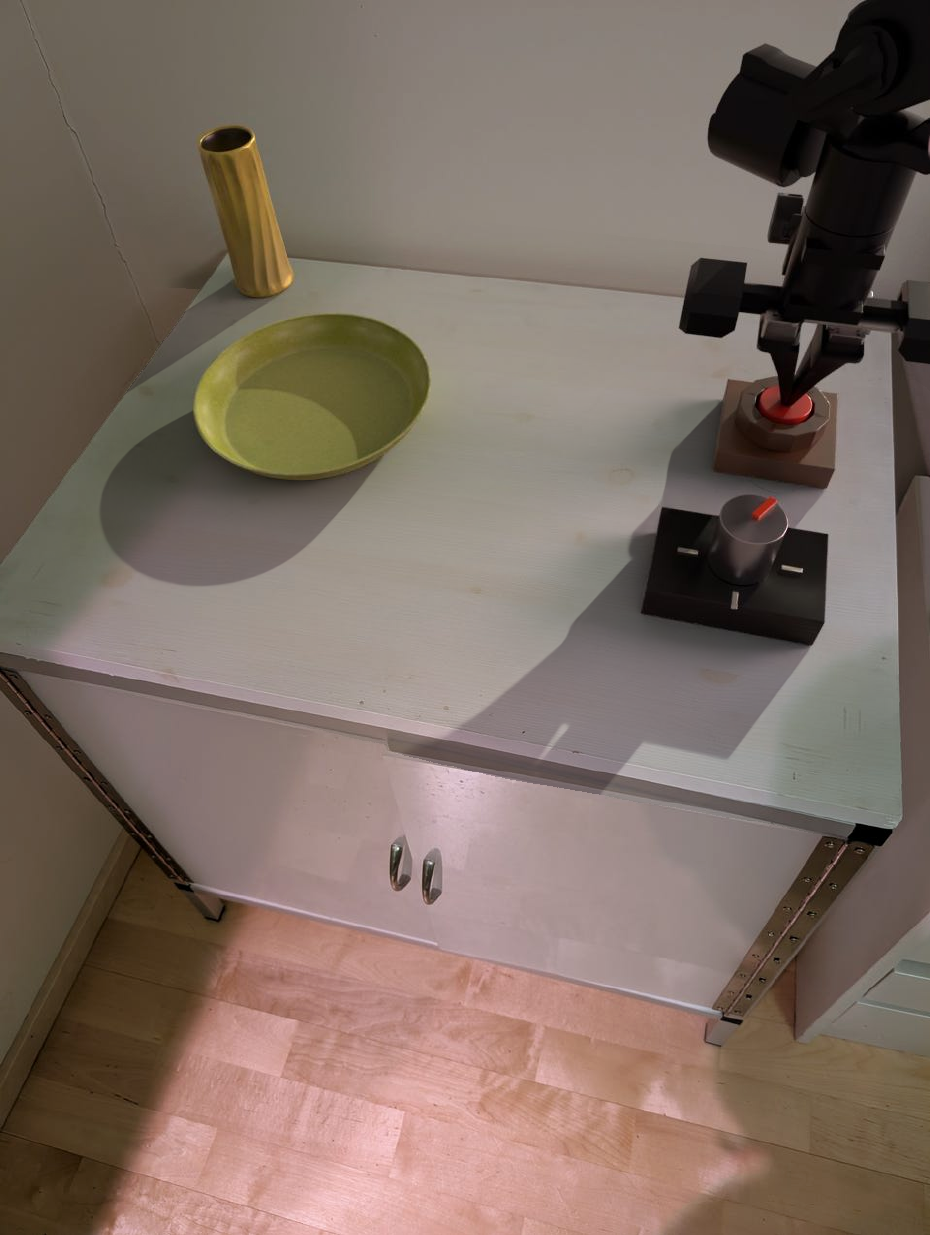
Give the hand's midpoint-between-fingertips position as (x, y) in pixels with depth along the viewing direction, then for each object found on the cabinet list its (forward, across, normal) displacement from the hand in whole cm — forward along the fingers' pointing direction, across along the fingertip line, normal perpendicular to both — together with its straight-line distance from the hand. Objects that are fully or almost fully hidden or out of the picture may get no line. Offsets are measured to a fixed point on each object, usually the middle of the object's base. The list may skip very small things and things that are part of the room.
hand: (786, 401), depth 66 cm
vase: (+4, +52, -13) cm, 54 cm away
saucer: (+4, +39, +5) cm, 40 cm away
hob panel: (+4, +2, +16) cm, 17 cm away
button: (+2, 0, 0) cm, 2 cm away
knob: (+1, +2, +16) cm, 16 cm away
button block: (+4, 0, 0) cm, 4 cm away
